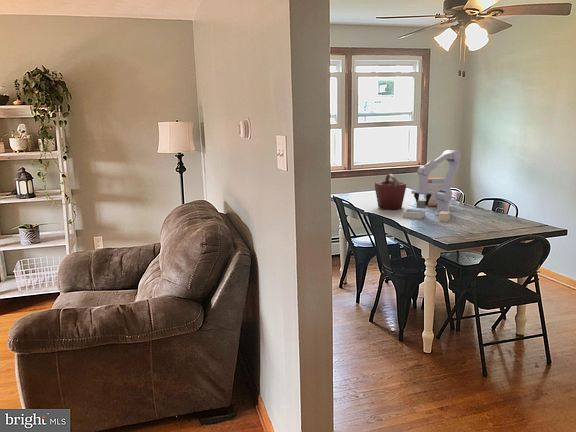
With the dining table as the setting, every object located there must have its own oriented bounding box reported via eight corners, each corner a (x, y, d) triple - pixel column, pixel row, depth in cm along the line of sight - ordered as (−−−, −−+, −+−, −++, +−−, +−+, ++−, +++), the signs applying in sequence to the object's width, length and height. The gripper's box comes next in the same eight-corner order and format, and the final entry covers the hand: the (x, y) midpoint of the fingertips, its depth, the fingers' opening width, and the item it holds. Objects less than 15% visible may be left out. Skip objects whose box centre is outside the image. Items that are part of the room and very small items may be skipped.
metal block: (419, 205, 320) (419, 198, 319) (427, 206, 318) (428, 199, 317) (416, 207, 314) (416, 200, 313) (424, 208, 311) (425, 201, 310)
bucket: (405, 211, 337) (406, 176, 332) (374, 210, 342) (374, 176, 336) (404, 204, 361) (405, 172, 355) (374, 204, 365) (375, 172, 360)
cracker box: (442, 204, 358) (443, 177, 353) (444, 206, 352) (445, 178, 347) (423, 204, 359) (424, 177, 354) (424, 206, 353) (425, 178, 349)
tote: (407, 214, 328) (407, 208, 327) (425, 215, 322) (425, 210, 321) (402, 217, 318) (402, 211, 317) (420, 219, 312) (420, 213, 311)
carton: (441, 218, 314) (441, 210, 313) (449, 219, 312) (450, 211, 311) (438, 220, 308) (438, 213, 307) (447, 221, 305) (447, 214, 304)
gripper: (410, 184, 313) (409, 205, 316) (432, 186, 306) (431, 206, 309) (413, 183, 319) (412, 203, 322) (435, 184, 312) (434, 205, 315)
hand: (422, 205), depth 315 cm, fingers closed on metal block, 5 cm apart
